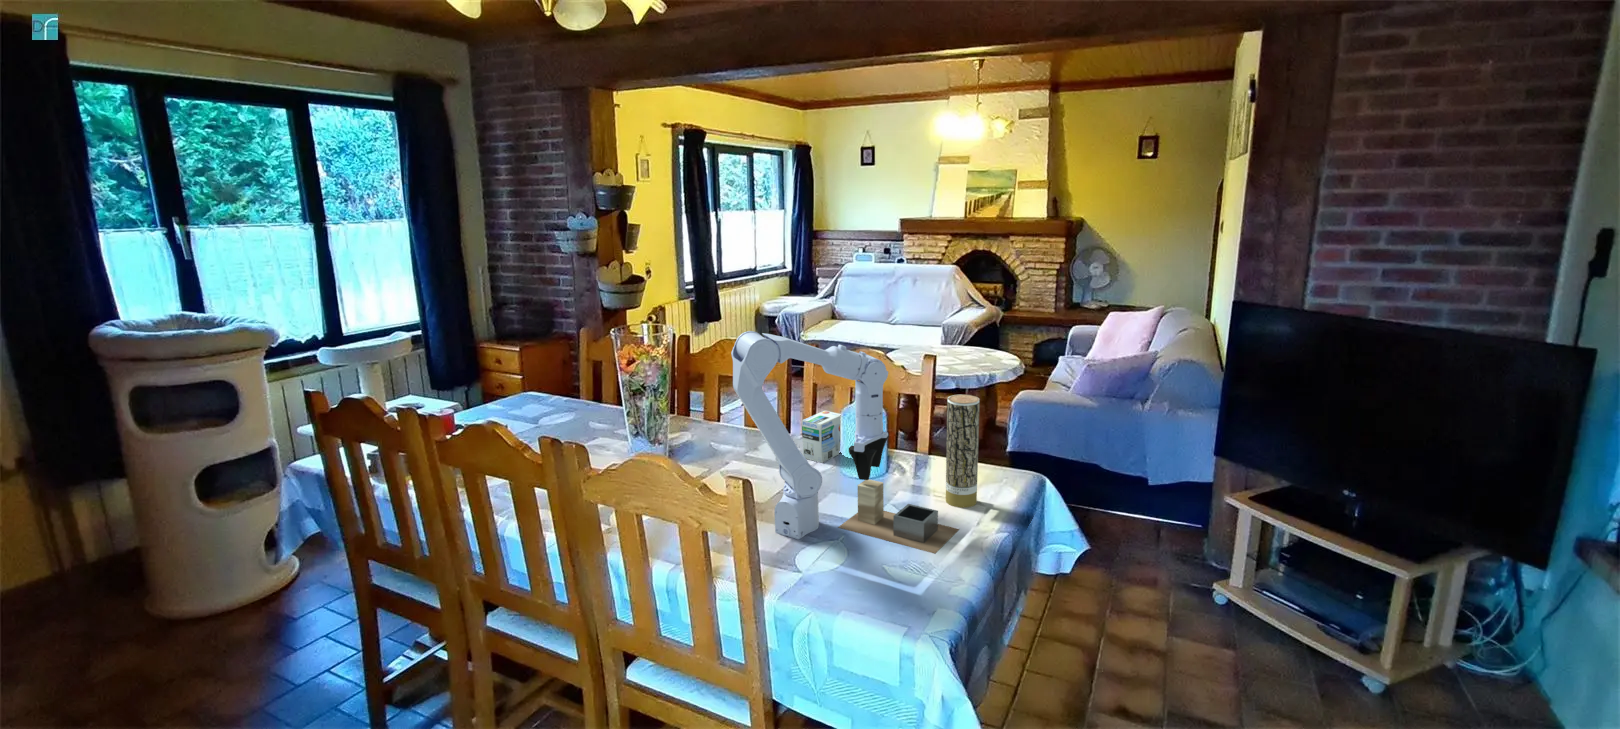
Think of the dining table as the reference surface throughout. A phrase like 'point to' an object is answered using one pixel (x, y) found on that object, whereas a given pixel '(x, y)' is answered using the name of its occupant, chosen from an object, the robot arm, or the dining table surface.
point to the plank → (885, 532)
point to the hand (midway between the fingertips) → (869, 472)
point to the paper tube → (962, 450)
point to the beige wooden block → (870, 501)
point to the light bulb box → (821, 436)
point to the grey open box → (915, 523)
